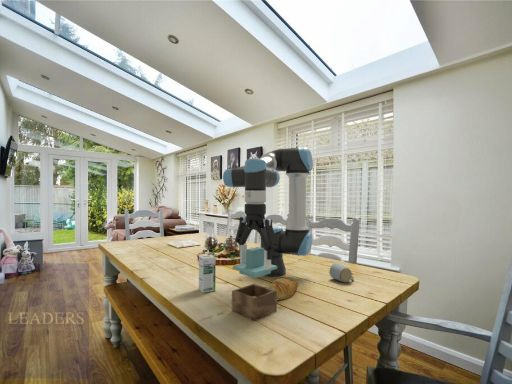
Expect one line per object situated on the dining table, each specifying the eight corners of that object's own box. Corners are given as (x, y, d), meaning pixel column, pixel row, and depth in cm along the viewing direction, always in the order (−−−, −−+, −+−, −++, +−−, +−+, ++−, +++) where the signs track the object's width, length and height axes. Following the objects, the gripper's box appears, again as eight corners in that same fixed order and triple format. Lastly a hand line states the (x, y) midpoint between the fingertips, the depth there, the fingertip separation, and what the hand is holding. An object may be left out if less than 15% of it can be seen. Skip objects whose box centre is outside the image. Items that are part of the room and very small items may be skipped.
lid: (232, 273, 96) (232, 248, 96) (254, 267, 104) (254, 244, 104) (255, 280, 89) (255, 253, 89) (277, 273, 97) (277, 248, 97)
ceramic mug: (340, 284, 126) (341, 267, 126) (329, 279, 133) (329, 263, 134) (358, 281, 130) (358, 265, 131) (345, 277, 138) (346, 261, 138)
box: (232, 310, 96) (232, 290, 96) (253, 302, 104) (254, 283, 104) (254, 321, 88) (254, 299, 88) (276, 310, 96) (276, 290, 96)
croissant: (269, 313, 102) (277, 297, 100) (252, 295, 108) (259, 279, 106) (301, 297, 118) (308, 282, 115) (284, 281, 124) (291, 267, 121)
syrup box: (202, 293, 113) (202, 257, 113) (198, 288, 118) (198, 255, 118) (215, 291, 115) (215, 256, 116) (211, 287, 121) (211, 253, 121)
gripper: (225, 202, 102) (225, 261, 102) (274, 204, 86) (273, 274, 86) (240, 202, 107) (240, 258, 107) (288, 203, 91) (288, 270, 91)
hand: (255, 265), depth 96 cm, fingers closed on lid, 11 cm apart
